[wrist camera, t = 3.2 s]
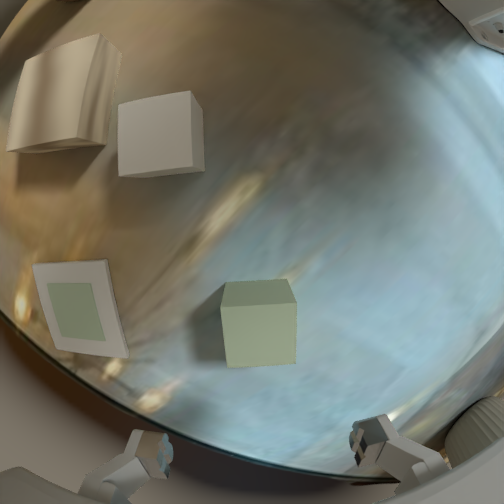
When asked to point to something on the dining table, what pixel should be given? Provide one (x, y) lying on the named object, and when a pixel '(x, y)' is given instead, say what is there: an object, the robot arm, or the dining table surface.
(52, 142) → the base block
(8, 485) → the robot arm
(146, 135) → the offwhite cube
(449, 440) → the canister
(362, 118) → the dining table surface
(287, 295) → the sage cube
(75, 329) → the card
